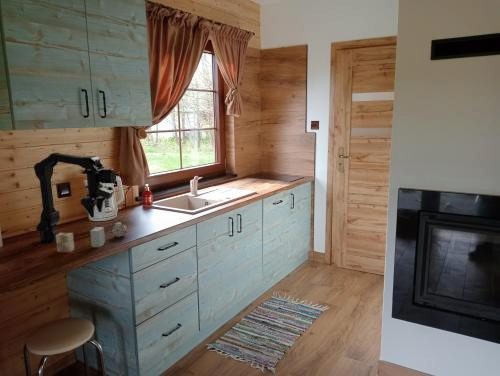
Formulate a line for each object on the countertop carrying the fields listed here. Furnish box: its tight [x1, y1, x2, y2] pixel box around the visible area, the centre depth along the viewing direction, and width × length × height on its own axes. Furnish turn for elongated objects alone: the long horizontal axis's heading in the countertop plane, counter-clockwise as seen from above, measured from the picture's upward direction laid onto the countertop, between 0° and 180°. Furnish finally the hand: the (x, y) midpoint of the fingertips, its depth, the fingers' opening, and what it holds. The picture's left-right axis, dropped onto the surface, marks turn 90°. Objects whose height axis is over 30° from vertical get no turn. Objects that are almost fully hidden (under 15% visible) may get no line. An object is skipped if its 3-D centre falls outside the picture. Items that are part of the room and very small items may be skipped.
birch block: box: [55, 232, 75, 253], centre depth 189 cm, size 6×4×8 cm, turn 87°
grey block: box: [89, 226, 106, 248], centre depth 197 cm, size 6×4×8 cm, turn 177°
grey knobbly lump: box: [110, 220, 129, 240], centre depth 208 cm, size 9×8×10 cm
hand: (96, 214), depth 198 cm, fingers open, 9 cm apart
